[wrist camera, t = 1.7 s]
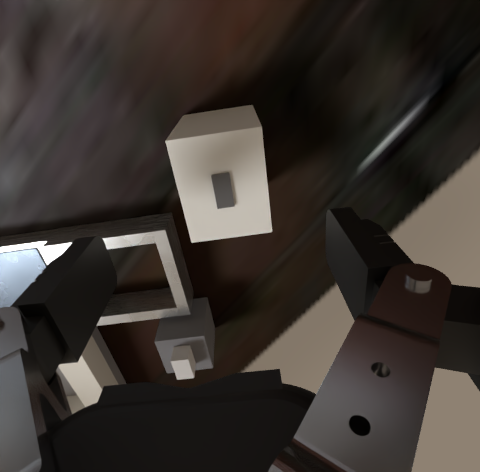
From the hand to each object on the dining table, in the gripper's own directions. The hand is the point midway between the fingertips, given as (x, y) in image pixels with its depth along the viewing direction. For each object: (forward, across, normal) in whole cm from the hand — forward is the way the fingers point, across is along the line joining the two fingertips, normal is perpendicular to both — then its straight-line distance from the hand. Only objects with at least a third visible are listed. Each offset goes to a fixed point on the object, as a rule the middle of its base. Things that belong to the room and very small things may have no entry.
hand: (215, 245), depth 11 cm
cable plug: (+10, +4, +12) cm, 16 cm away
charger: (+10, 0, -1) cm, 10 cm away
